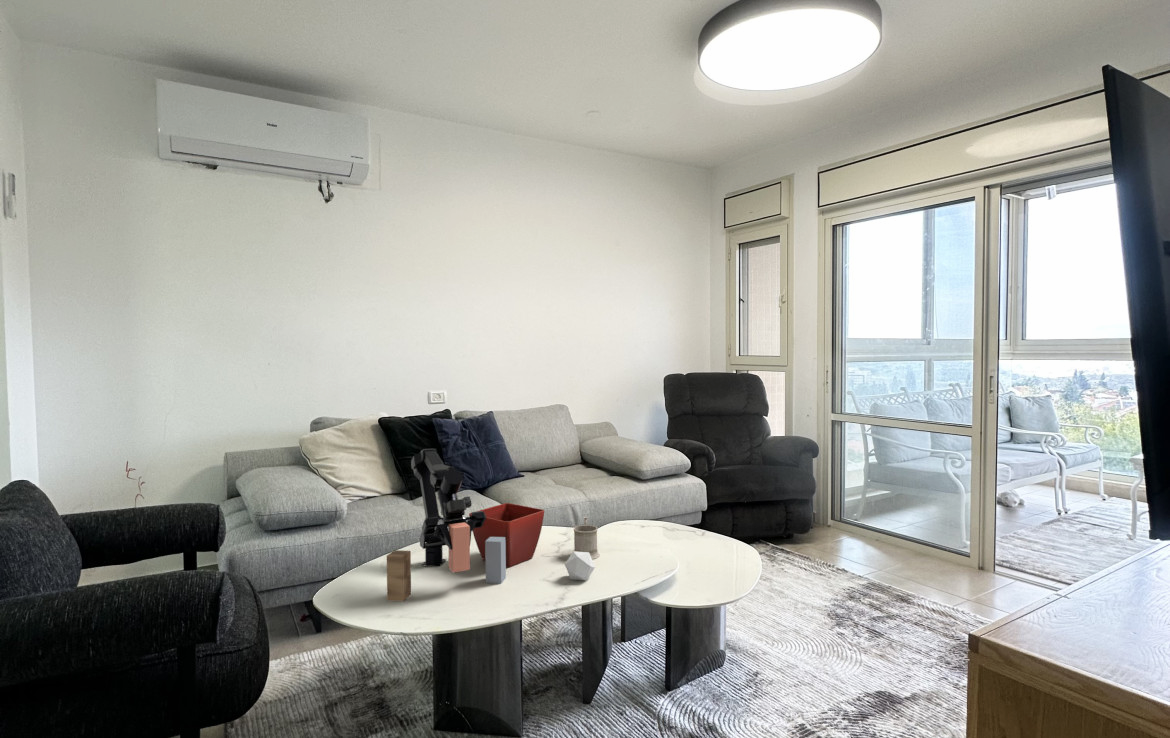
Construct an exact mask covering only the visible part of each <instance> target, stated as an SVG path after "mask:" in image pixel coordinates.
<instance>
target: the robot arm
mask: <svg viewBox="0 0 1170 738" xmlns="http://www.w3.org/2000/svg"><path fill="white" fill-rule="evenodd" d="M410 467H411V470H413V475H414V477H416V478H417V480H418V481H419V483H420V490H421V495H422V497H421V498H422V503H423V509H424V517H425V519H424V520H423V523H422V527H421V534H420V536H419V546H420V547H421V548H422V550H425V551H424V552H425V553H424V554H425V555H424V558H425V559H424V560H425V561H424V562H422V563H421V567H423V566H424V567H441V565H443V564H444V563H445V562H446V561H447V558H443V554H444V553H443V546H446V547H448V549H449V548H450V550H452V548H453V547H452V542H451V539H450V536H449V524H456V523H464V522H465V523H466V524H468V525H469V526H470V543H471V541H472V540H471V539H472V533H473V530H474V528H480V527H482V526H483V524H484V522H485V519H486V515H485V513H484V512H483V511H479V510H477V512H476V511H471V512H470V513H471V516H470V517H469V516H467V517H466V516H465V513H466V512H465V511H466V510H467V509H469V508H471V507H472V505H473V504H472V500H471V496H470V495H469V496H464V497H463V498H461V499H459V497H458V492H459V491H460V488H461V486H462V482H463V481H464V480H463V479H464V475H463V473H462V472H461V471H460V470H458V469H456V468H455V466H450V465H445V464H444V462H443V460H442V459H441V457H440V456H439V454H438V451H437V448H423V449H422V450H421V451H420V452H418V453H416V454H414V455H413V456H412V458H411V459H410ZM436 488H438V489H437V494H436ZM437 499H438V500H437ZM437 501H439V506H440V511H439V506H438V502H437ZM439 512H440V513H439ZM440 514H441V515H442V517H441V515H440ZM463 516H465V517H463Z"/></svg>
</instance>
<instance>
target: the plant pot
mask: <svg viewBox="0 0 1170 738" xmlns="http://www.w3.org/2000/svg"><path fill="white" fill-rule="evenodd" d="M477 511H483V512H484V513H485V515H486V519H485V522H484V524H483V526H482V527H480V528H474V530H473V531H472V535H473V539H474V541H475V543H476V546H477V549H478V552H479V554H480V557H481V559H482V561H484V562H486V560H485V541H486V540H487V539H488V538H489V537H505V544H506V568H511V567H513V566H516V565H518V564H521V563H523V562H526V561H528V560H530V559H533V558H534V555H535V552H536V550H537V546H538V543H539V541H540V536H541V532H542V527H543V523H544V516H545V509H542V508H536V507H531V506H526V505H521V504H515V503H510V502H507V503H505V502H504V503H502V504H498V505H494V506H490V507H487V508H483V509H480V510H477ZM477 511H475V512H477ZM471 513H472V512H469V513H468V515H469V516H468V517H470V516H471Z"/></svg>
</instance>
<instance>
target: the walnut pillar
mask: <svg viewBox="0 0 1170 738" xmlns="http://www.w3.org/2000/svg"><path fill="white" fill-rule="evenodd" d="M411 554H412V553H411V550H396V549H395V550H393V551H391V552H389V553H388V554H387V555H386V601H389V602H391V601H395V602H405V601H406V600H407V599H408V598H409V597H411V595H412V569H411V568H412V564H411V562H412V560H411V558H412V555H411Z"/></svg>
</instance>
